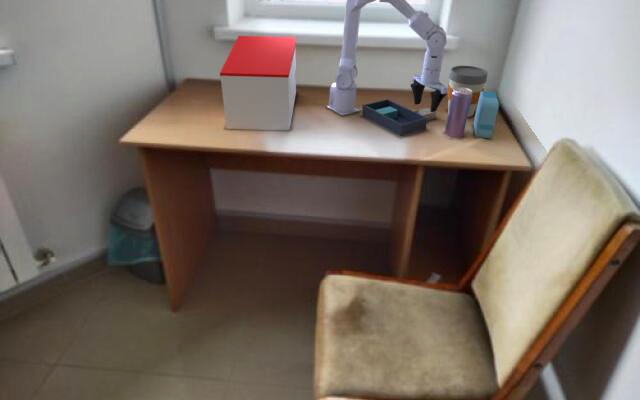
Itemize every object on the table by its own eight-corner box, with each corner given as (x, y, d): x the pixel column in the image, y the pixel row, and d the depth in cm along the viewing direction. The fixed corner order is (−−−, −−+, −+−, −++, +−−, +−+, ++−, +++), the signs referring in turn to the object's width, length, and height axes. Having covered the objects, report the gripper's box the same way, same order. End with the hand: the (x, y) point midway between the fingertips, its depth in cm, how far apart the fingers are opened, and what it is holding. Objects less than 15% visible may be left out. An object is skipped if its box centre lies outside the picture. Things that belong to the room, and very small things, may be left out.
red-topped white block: (296, 92, 172) (295, 37, 160) (289, 130, 142) (288, 66, 131) (243, 91, 172) (238, 35, 160) (225, 128, 143) (218, 64, 131)
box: (361, 116, 153) (362, 104, 151) (386, 110, 158) (387, 98, 156) (400, 137, 140) (402, 125, 137) (425, 130, 145) (427, 117, 142)
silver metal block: (412, 119, 152) (413, 111, 151) (426, 115, 155) (427, 107, 154) (420, 123, 149) (421, 115, 148) (435, 119, 153) (436, 111, 151)
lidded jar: (457, 121, 151) (466, 78, 143) (435, 108, 161) (442, 67, 152) (486, 116, 156) (496, 74, 147) (463, 103, 165) (471, 63, 157)
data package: (490, 140, 139) (499, 104, 133) (475, 138, 140) (484, 102, 133) (486, 125, 149) (495, 91, 142) (473, 123, 150) (481, 89, 143)
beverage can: (459, 140, 139) (469, 95, 130) (441, 136, 141) (450, 91, 133) (465, 134, 143) (475, 89, 134) (447, 129, 145) (456, 85, 137)
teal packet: (373, 117, 151) (374, 110, 150) (389, 113, 154) (389, 106, 153) (381, 122, 148) (382, 114, 147) (397, 117, 152) (398, 110, 150)
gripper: (457, 72, 139) (449, 112, 147) (424, 60, 149) (418, 98, 157) (442, 75, 136) (434, 116, 144) (409, 63, 146) (404, 102, 154)
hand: (425, 107), depth 150 cm, fingers open, 7 cm apart
